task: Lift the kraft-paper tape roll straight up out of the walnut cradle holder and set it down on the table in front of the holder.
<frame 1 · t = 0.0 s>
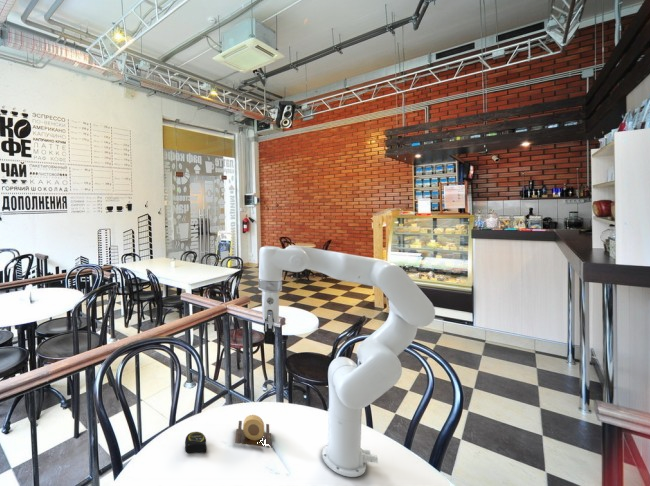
hand: (268, 337, 106), 37 cm above the table, tool pointing down, fingers open, 9 cm apart
tape measure: (196, 451, 105), on the table
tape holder: (253, 440, 110), on the table
tape roll: (253, 437, 110), point 1 cm above the table, touching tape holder
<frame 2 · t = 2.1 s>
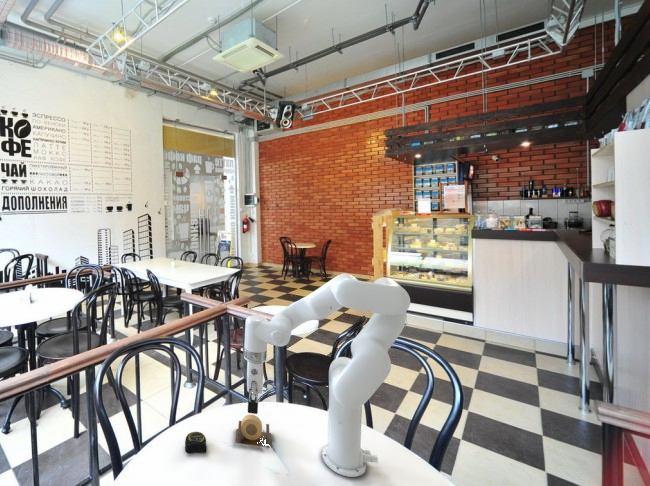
hand: (252, 404, 111), 12 cm above the table, tool pointing down, fingers open, 9 cm apart
tape roll: (253, 437, 110), point 1 cm above the table, tilted 12°, touching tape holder
everything else where it was.
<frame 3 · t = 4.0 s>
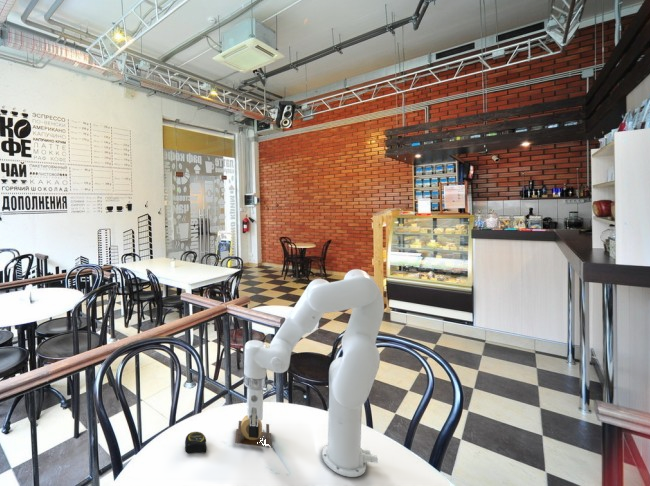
hand: (253, 433, 110), 3 cm above the table, tool pointing down, fingers closed on tape roll, 2 cm apart
tape roll: (253, 437, 110), point 1 cm above the table, tilted 12°, touching gripper
everything else where it was.
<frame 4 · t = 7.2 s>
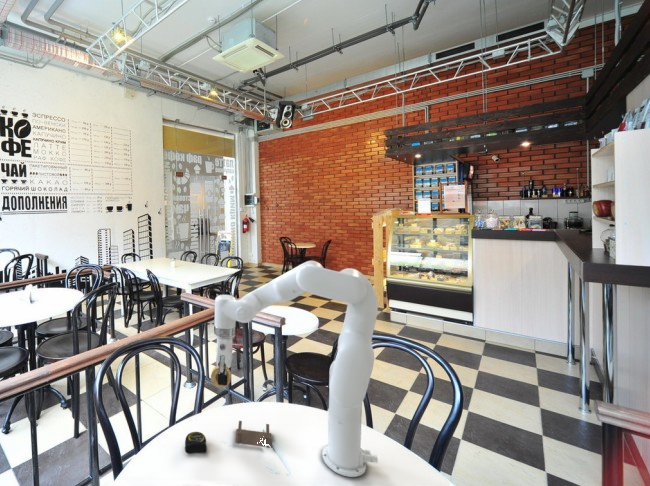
hand: (222, 381, 117), 16 cm above the table, tool pointing down, fingers closed on tape roll, 2 cm apart
tape roll: (222, 385, 117), point 15 cm above the table, tilted 12°, touching gripper
everything else where it was.
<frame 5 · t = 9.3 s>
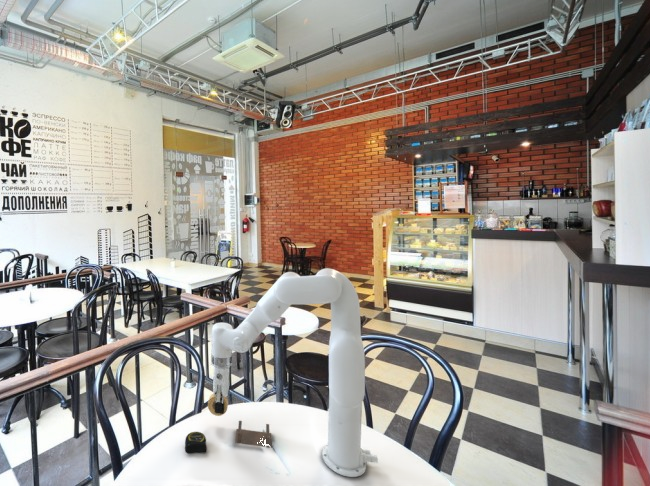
hand: (219, 409, 117), 6 cm above the table, tool pointing down, fingers closed on tape roll, 2 cm apart
tape roll: (219, 413, 117), point 5 cm above the table, tilted 12°, touching gripper
everything else where it was.
when the fingers open (2 cm above the table, at t = 10.6 s): tape roll stays where it is, on the table.
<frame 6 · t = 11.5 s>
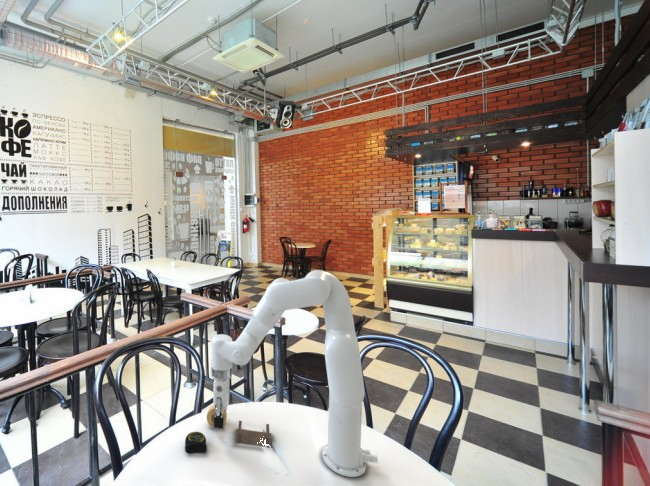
hand: (220, 418, 117), 3 cm above the table, tool pointing down, fingers open, 9 cm apart
tape roll: (219, 426, 117), on the table, tilted 17°
everything else where it was.
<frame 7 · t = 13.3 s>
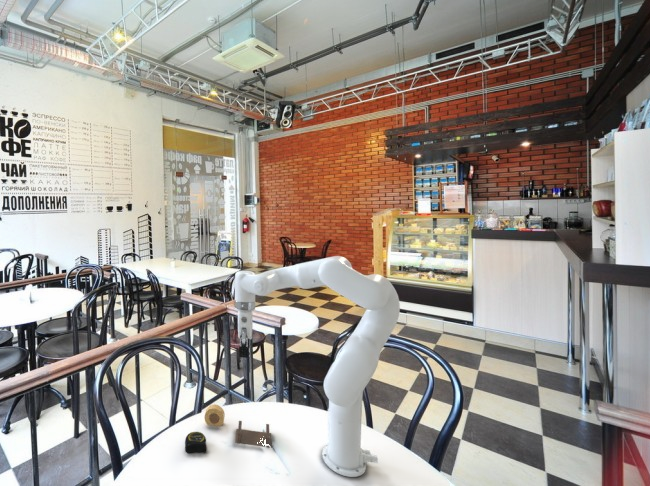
hand: (244, 351, 121), 26 cm above the table, tool pointing down, fingers open, 9 cm apart
tape roll: (219, 425, 117), on the table, tilted 30°
everything else where it was.
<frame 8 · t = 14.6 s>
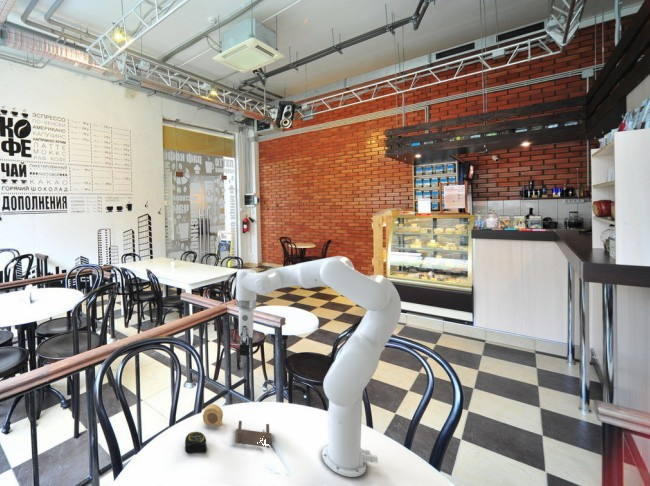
hand: (244, 349, 121), 26 cm above the table, tool pointing down, fingers open, 9 cm apart
tape roll: (219, 424, 117), point 1 cm above the table, tilted 40°
everything else where it was.
at the end: tape roll inside the target area (0.4 cm from its centre), point 0.9 cm above the table; tape roll touching table; tape roll moved 13.4 cm from its start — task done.
